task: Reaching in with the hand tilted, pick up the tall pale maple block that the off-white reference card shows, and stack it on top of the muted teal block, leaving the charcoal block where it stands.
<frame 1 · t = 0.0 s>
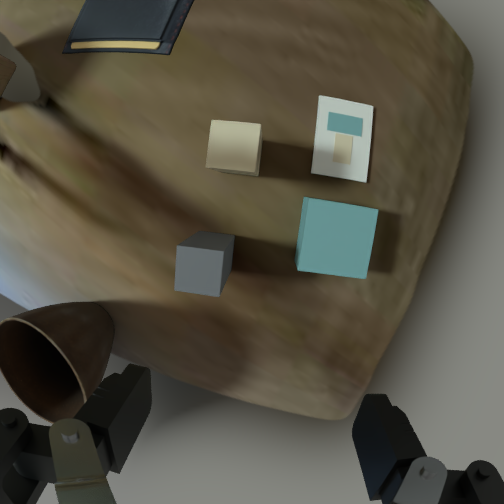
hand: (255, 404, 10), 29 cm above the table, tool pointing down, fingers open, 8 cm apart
plant pot: (94, 324, 43), on the table
reference card: (342, 138, 36), on the table
dark blue-grey book: (129, 14, 34), on the table
charcoal block: (215, 250, 39), on the table
teal base block: (330, 233, 38), on the table
maple block: (242, 156, 37), on the table
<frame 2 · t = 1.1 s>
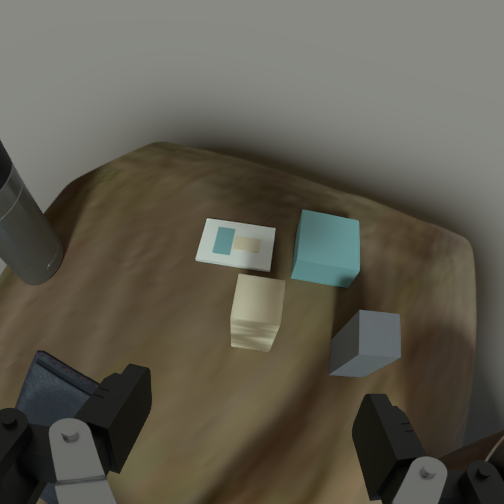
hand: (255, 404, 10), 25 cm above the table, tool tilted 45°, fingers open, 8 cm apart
plant pot: (430, 488, 26), on the table
reference card: (236, 244, 44), on the table
dark blue-grey book: (56, 437, 28), on the table
charcoal block: (347, 358, 36), on the table
teal base block: (321, 258, 44), on the table
maple block: (252, 331, 37), on the table
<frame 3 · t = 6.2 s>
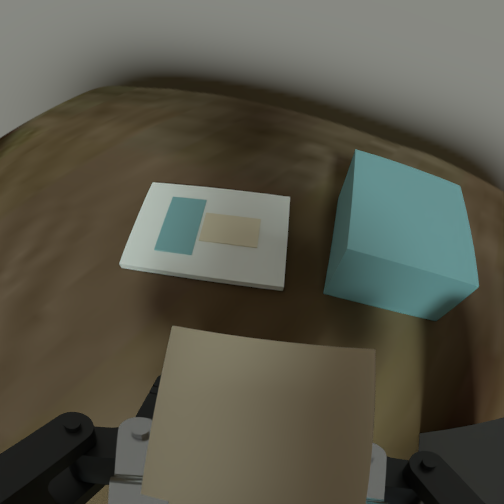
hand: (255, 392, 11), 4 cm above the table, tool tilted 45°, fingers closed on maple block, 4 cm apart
reference card: (209, 232, 20), on the table
charcoal block: (447, 463, 12), on the table
teal base block: (385, 257, 20), on the table
maple block: (246, 437, 14), on the table, touching gripper
when the fingers open (10 cm above the table, at t = 11.9 s): maple block drops 2 cm, point 5 cm above the table.
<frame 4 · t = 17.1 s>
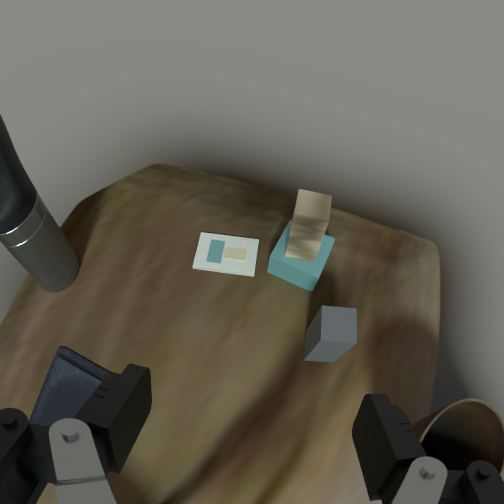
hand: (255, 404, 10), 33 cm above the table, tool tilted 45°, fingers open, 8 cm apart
plant pot: (398, 461, 34), on the table
reference card: (226, 254, 52), on the table
dark blue-grey book: (74, 419, 36), on the table
charcoal block: (319, 347, 44), on the table
teal base block: (298, 263, 52), on the table
maple block: (301, 247, 48), point 5 cm above the table
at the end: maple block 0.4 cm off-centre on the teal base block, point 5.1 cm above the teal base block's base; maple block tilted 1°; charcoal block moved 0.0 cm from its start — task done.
